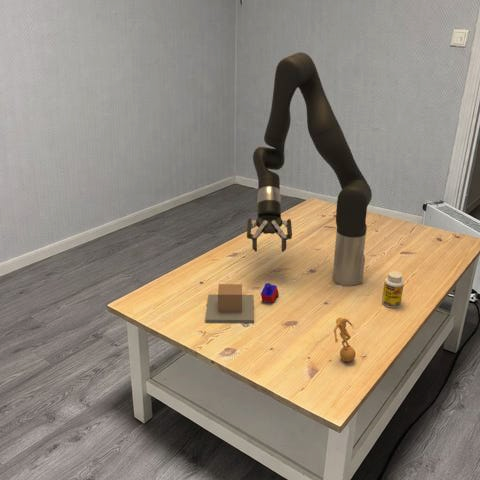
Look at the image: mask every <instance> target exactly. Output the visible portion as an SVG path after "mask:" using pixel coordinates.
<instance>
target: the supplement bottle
mask: <svg viewBox="0 0 480 480" xmlns="http://www.w3.org/2000/svg"><path fill="white" fill-rule="evenodd" d="M404 285H405V282H404V280H403V274H402V273H401V272H400V271H396V270H395V271H389V272H388V274H387V277H386V278H384V284H383V291H382V299H381V302H382V305H383V306H385V307H388V308H390V309H391V308H392V309H393V308H398V307H400V305H401V303H402V297H403V292H404V291H403V290H404Z"/></svg>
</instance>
